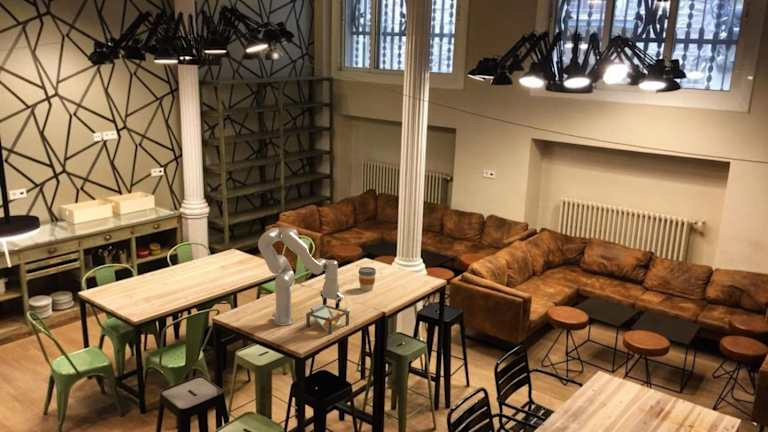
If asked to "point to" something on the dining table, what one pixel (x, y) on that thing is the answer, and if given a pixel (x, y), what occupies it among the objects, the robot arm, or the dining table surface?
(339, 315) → the frame
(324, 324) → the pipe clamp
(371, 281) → the reusable coffee cup
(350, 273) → the dining table surface
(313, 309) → the trapdoor
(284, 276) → the robot arm
